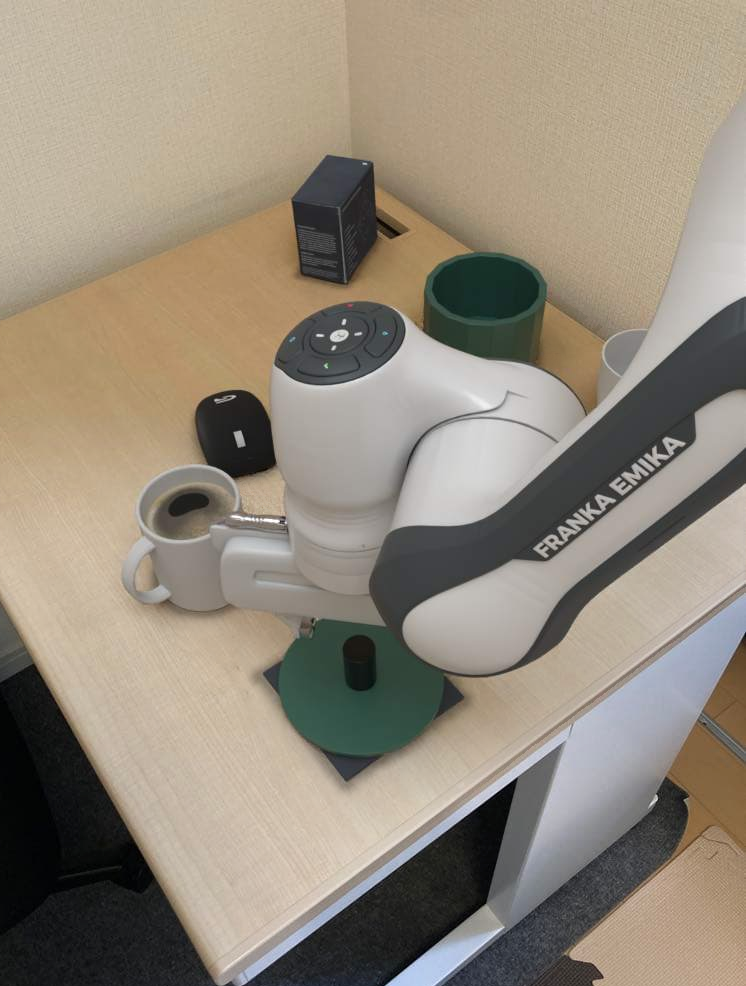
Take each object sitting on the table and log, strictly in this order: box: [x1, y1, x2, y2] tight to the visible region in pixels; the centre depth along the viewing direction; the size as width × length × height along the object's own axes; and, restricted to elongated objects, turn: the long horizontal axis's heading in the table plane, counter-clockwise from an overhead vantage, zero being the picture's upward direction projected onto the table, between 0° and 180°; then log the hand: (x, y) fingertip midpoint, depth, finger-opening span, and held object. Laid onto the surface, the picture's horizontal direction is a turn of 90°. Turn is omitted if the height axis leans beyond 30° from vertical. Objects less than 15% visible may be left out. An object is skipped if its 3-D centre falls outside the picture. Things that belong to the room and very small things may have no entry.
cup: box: [596, 328, 648, 407], centre depth 89 cm, size 8×8×10 cm
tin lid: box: [278, 618, 445, 758], centre depth 73 cm, size 14×14×6 cm
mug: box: [121, 463, 244, 612], centre depth 80 cm, size 11×10×10 cm
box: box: [290, 154, 379, 284], centre depth 110 cm, size 11×7×10 cm, turn 157°
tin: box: [422, 251, 548, 365], centre depth 98 cm, size 13×13×8 cm
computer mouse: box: [194, 389, 277, 479], centre depth 93 cm, size 8×12×4 cm, turn 18°
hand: (364, 639), depth 71 cm, fingers open, 8 cm apart
